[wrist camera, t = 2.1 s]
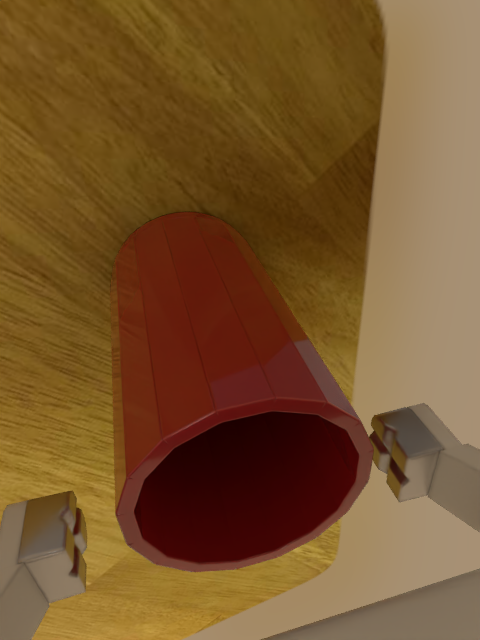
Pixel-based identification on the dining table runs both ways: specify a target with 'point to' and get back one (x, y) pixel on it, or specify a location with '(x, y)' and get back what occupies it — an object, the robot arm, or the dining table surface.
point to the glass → (220, 405)
